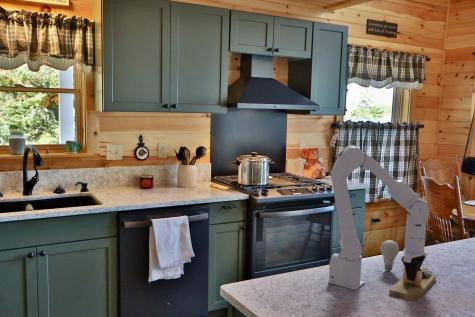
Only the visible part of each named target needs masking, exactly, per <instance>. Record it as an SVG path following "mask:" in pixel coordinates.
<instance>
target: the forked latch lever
mask: <svg viewBox="0 0 475 317" xmlns="http://www.w3.org/2000/svg"><path fill="white" fill-rule="evenodd" d="M402 270H403V271H402V278H403V283H407V284H410V285H414V286H415V285H416V286H420V285H421V281H422V277H426V278H428V276H429V275H432V273H433V271H432V270H431V269H430V270H429V269H428V272H427V273H426V274H422V269H419V268H418V270H417V274H416V278H415V281H410V280H407V276H406V270H405V266H404V267H403V268H402Z"/></svg>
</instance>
